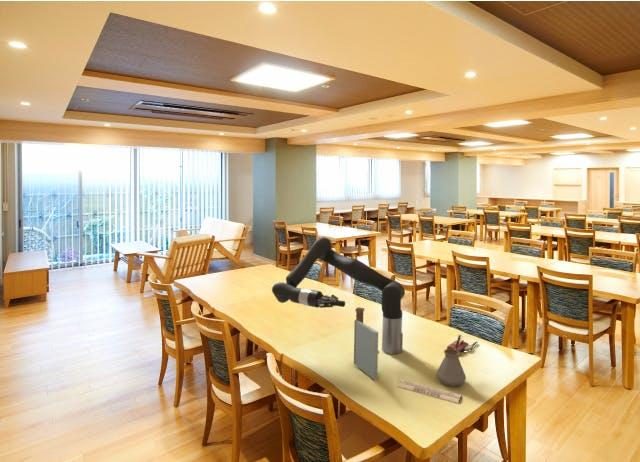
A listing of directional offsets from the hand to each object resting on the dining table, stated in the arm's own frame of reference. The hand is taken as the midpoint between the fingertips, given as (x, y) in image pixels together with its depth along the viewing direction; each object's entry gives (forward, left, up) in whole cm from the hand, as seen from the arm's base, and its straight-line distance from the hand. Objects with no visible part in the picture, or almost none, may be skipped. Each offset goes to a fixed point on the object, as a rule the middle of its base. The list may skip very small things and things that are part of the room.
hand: (344, 304), depth 173 cm
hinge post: (-7, -2, -28) cm, 29 cm away
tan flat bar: (-31, +24, -29) cm, 49 cm away
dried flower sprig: (-60, -16, -28) cm, 68 cm away
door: (-9, +7, -27) cm, 29 cm away
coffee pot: (-45, +12, -28) cm, 55 cm away
